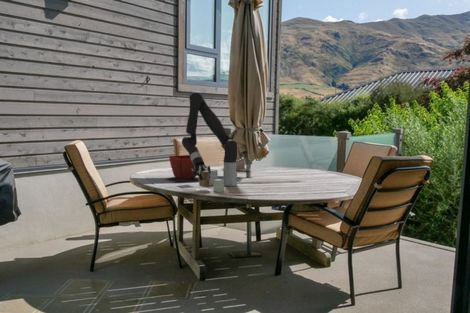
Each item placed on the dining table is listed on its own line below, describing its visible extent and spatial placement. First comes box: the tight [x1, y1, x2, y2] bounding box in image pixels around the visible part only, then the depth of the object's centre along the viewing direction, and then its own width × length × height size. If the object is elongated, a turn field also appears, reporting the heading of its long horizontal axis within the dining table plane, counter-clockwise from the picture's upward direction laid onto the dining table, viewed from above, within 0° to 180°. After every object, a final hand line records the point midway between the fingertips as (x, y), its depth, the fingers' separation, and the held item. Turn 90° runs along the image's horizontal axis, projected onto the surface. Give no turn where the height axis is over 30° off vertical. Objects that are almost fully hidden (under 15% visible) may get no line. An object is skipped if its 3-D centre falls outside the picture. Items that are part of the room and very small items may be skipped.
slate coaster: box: [176, 184, 194, 189], centre depth 301 cm, size 9×9×1 cm
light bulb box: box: [209, 168, 219, 186], centre depth 314 cm, size 11×7×11 cm, turn 141°
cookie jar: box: [221, 159, 247, 172], centre depth 397 cm, size 25×25×32 cm
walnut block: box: [198, 171, 210, 188], centre depth 291 cm, size 5×5×10 cm
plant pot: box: [168, 154, 197, 180], centre depth 342 cm, size 19×19×17 cm
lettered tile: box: [195, 187, 212, 192], centre depth 291 cm, size 9×9×1 cm
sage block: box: [212, 178, 225, 193], centre depth 288 cm, size 5×5×8 cm
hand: (205, 179), depth 289 cm, fingers closed on walnut block, 5 cm apart
